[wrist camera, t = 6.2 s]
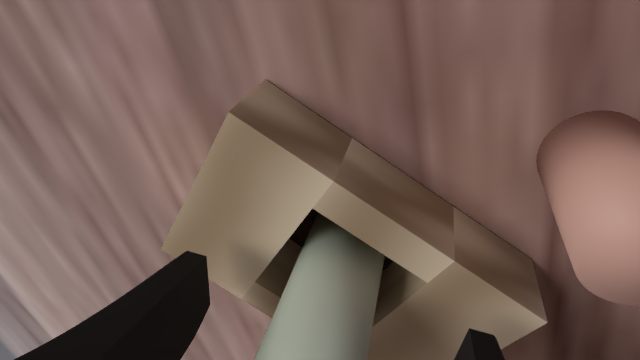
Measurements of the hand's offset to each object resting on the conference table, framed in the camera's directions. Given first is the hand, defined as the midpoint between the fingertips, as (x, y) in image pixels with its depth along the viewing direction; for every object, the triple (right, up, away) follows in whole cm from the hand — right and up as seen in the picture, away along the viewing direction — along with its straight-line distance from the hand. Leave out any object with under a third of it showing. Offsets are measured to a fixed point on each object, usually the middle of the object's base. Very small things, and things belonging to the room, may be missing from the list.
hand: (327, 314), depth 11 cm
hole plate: (+1, +2, +3) cm, 4 cm away
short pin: (+7, +4, 0) cm, 8 cm away
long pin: (+1, +2, +3) cm, 4 cm away
